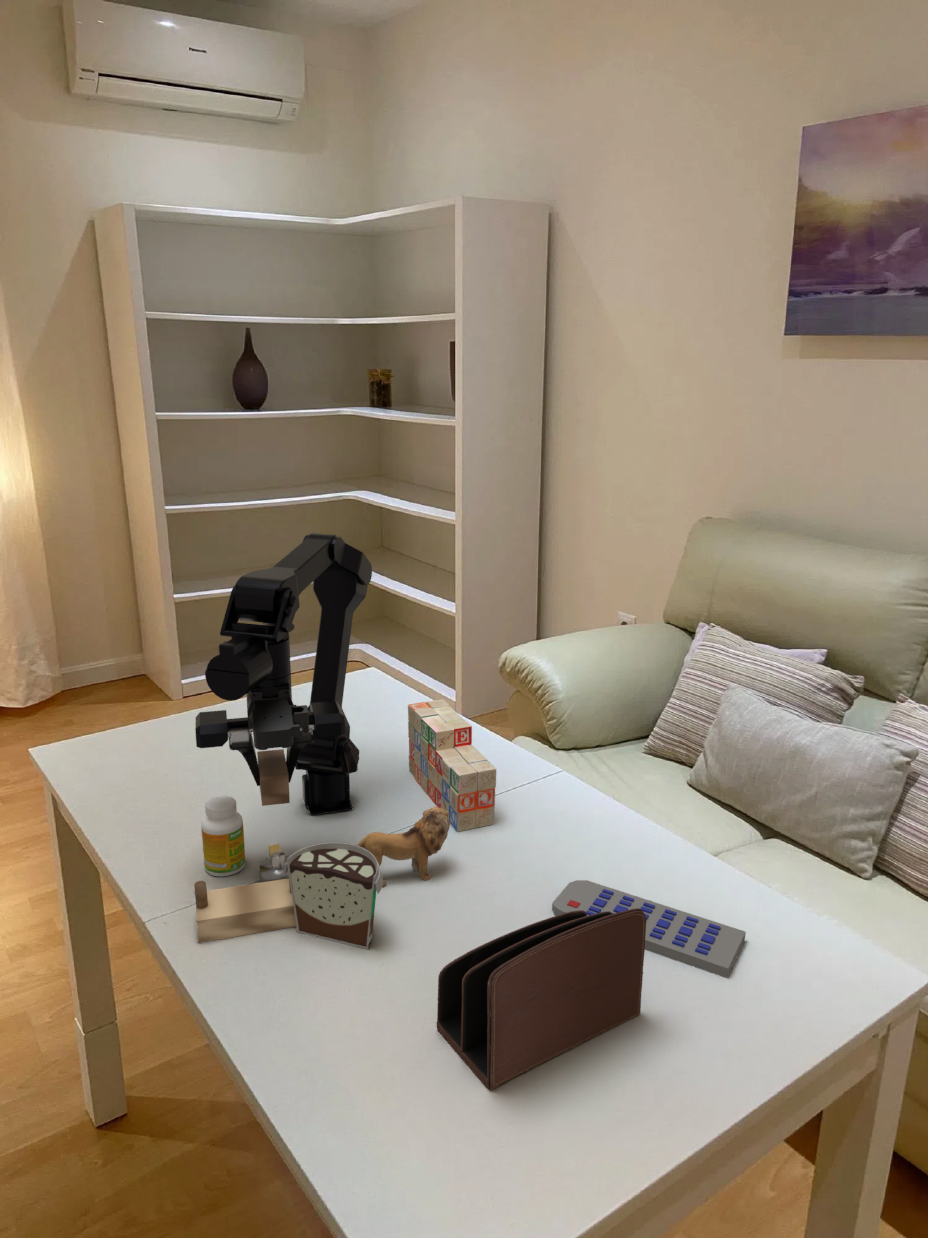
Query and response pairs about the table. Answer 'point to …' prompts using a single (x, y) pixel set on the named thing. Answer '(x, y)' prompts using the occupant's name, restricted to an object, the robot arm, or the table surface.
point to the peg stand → (243, 909)
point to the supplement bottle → (223, 837)
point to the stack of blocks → (450, 765)
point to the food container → (335, 892)
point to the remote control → (661, 926)
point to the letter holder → (542, 991)
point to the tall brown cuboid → (273, 777)
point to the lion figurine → (411, 841)
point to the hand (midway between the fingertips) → (273, 783)
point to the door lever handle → (273, 865)
